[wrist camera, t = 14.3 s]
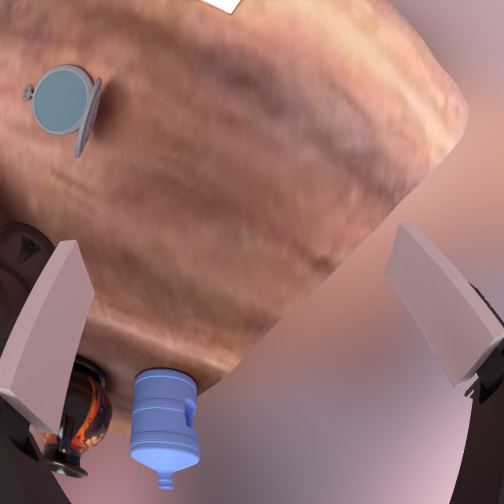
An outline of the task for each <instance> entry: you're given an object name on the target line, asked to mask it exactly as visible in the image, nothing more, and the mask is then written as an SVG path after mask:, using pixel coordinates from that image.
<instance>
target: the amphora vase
mask: <svg viewBox="0 0 504 504" xmlns="http://www.w3.org/2000/svg"><path fill="white" fill-rule="evenodd" d="M105 387H106V378H105V376H104V374H103V373H102V371H101V370H100V369H99V368H97V367H96V366H95V365H93V364H92V363H90V362H89V361H87V360H85V359H82V358H80V357H77V356H75V360H74V363H73V367H72V371H71V375H70V379H69V384H68V388H67V392H66V397H65V401H64V406H63V411H62V416H61V422H60V427H59V433H58V435H55V434H50V433H45V432H40V431H39V430H37V431H38V433H39V434H40V436H41V438H42V440H43V443H44V449H43V452H42V455H43V457H44V459H45V461H46V463H47V464H48V466H49V468H50V470H51V471H54V472H56V473H60V474H62V475H66V476H70V477H75V478H86V477H87V476H88V473H87V472H86V471H85V470H84V469H82V468H81V467H80V458H81V456H82V455H83V454H84V453H85V452H86V451H88V450H89V449H91V448H92V447H94V446H95V445H97V444H98V443H99V442H100V441H101V440H102V439H103V438H104V436H105V435H106V433H107V431H108V428H109V425H110V422H111V418H112V405H111V401H110V398H109V396H108V394H107V392H106V390H105V389H104V388H105Z"/></svg>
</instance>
